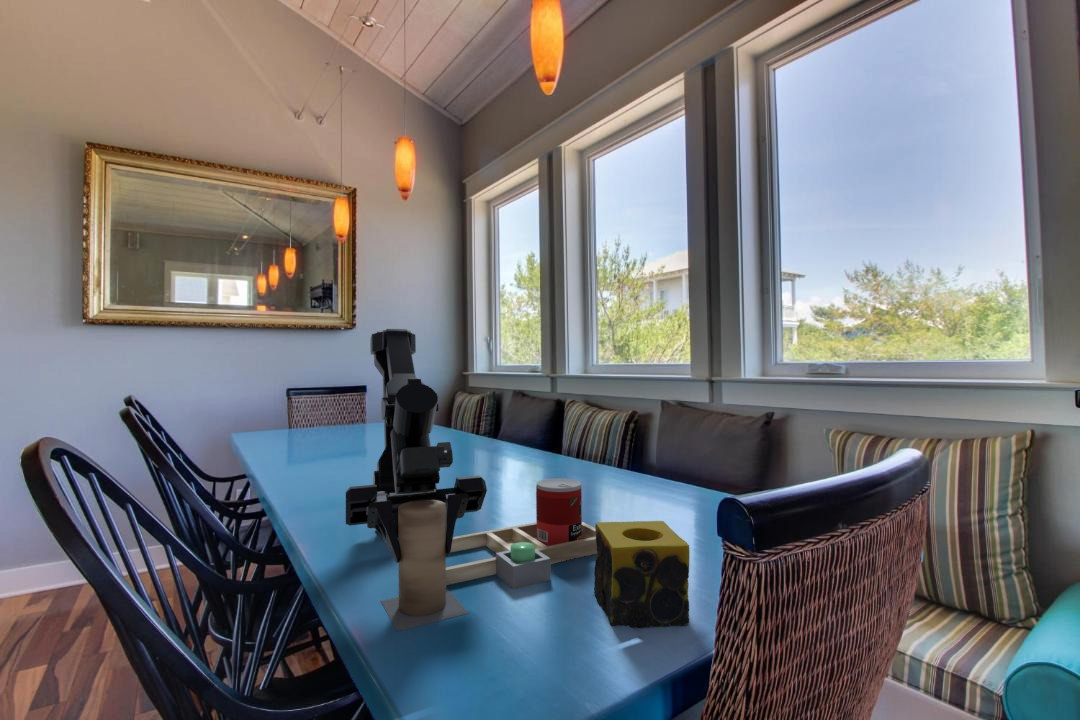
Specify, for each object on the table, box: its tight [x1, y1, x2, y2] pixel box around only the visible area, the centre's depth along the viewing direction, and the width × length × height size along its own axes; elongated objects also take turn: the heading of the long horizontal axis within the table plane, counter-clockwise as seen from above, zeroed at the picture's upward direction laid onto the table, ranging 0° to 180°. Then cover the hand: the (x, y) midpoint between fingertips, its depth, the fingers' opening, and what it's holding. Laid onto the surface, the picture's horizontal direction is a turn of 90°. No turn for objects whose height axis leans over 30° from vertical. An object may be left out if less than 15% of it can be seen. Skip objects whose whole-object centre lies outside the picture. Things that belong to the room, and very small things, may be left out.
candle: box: [593, 520, 690, 629], centre depth 67 cm, size 10×10×10 cm
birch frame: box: [446, 521, 597, 586], centre depth 86 cm, size 13×30×2 cm, turn 119°
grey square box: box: [495, 549, 552, 590], centre depth 76 cm, size 6×6×4 cm
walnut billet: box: [397, 500, 447, 617], centre depth 68 cm, size 6×6×13 cm
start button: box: [511, 542, 535, 564], centre depth 76 cm, size 4×4×3 cm
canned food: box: [535, 477, 583, 546], centre depth 90 cm, size 8×8×11 cm
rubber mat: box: [380, 586, 470, 633], centre depth 67 cm, size 9×9×1 cm
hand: (423, 557), depth 66 cm, fingers closed on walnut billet, 6 cm apart
